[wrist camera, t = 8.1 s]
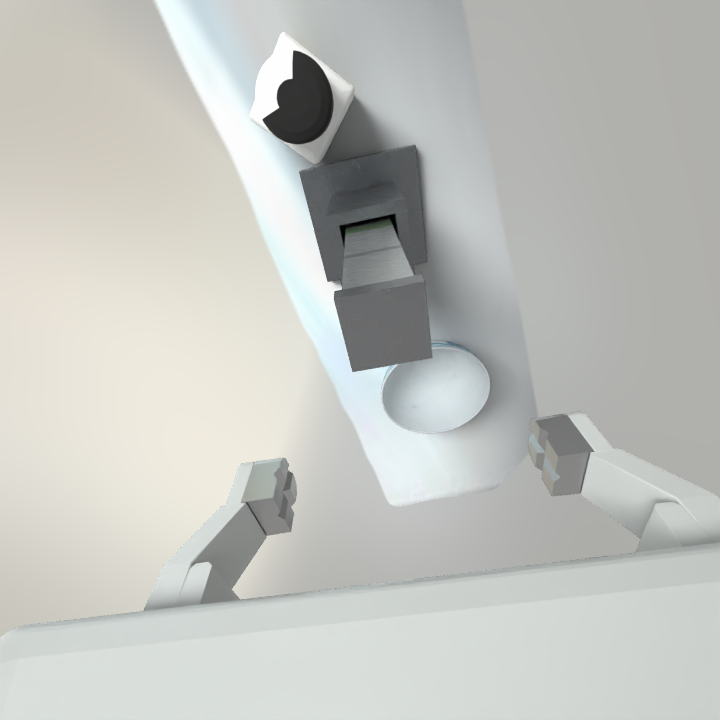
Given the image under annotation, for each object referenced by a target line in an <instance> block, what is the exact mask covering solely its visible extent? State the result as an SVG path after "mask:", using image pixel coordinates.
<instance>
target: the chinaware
mask: <svg viewBox="0 0 720 720" xmlns="http://www.w3.org/2000/svg"><path fill="white" fill-rule="evenodd" d="M431 347H432V356H433V358H430V359H424V360H419V361H413V362H407V363H401V364H396V365H390V366H389V368H388V370H387V372H386V374H385V377H384V380H383V384H382V389H381V401H382V405H383V408H384V410H385V412H386V414H387V415H388V417H389V418H390V419H391V420H392V421H393V422H394V423H396V424H397V425H398V426H400V427H402V428H404V429H406V430H409V431H412V432H417V433H425V434H432V433H441V432H446V431H449V430H452V429H455V428H458V427H460V426H462V425H464V424H465V423H467V422H468V421H470V420H471V419H472V418H474V417H475V416H476V415H477V414H478V413H479V412H480V410H481V409H482V408H483V406H484V405H485V403H486V401H487V399H488V396H489V393H490V377H489V374H488V371H487V369H486V368H485V366H484V365H483V363H482V362H481V361H480V360H479V359H478V358H477V357H476V356H475V355H474V354H472V353H471V352H470V351H468V350H467V349H465V348H463V347H461V346H459V345H457V344H454V343H451V342H447V341H440V340H432V341H431Z"/></svg>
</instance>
